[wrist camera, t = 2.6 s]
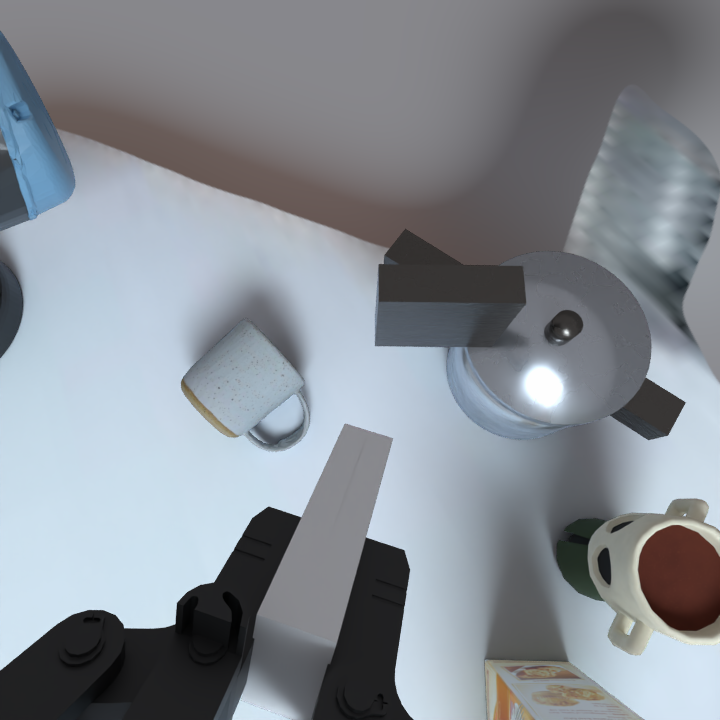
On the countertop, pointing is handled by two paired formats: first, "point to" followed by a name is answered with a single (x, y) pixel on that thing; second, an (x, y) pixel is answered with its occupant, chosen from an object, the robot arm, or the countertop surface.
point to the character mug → (650, 573)
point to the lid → (526, 330)
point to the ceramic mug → (244, 385)
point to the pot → (641, 414)
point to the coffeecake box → (547, 693)
